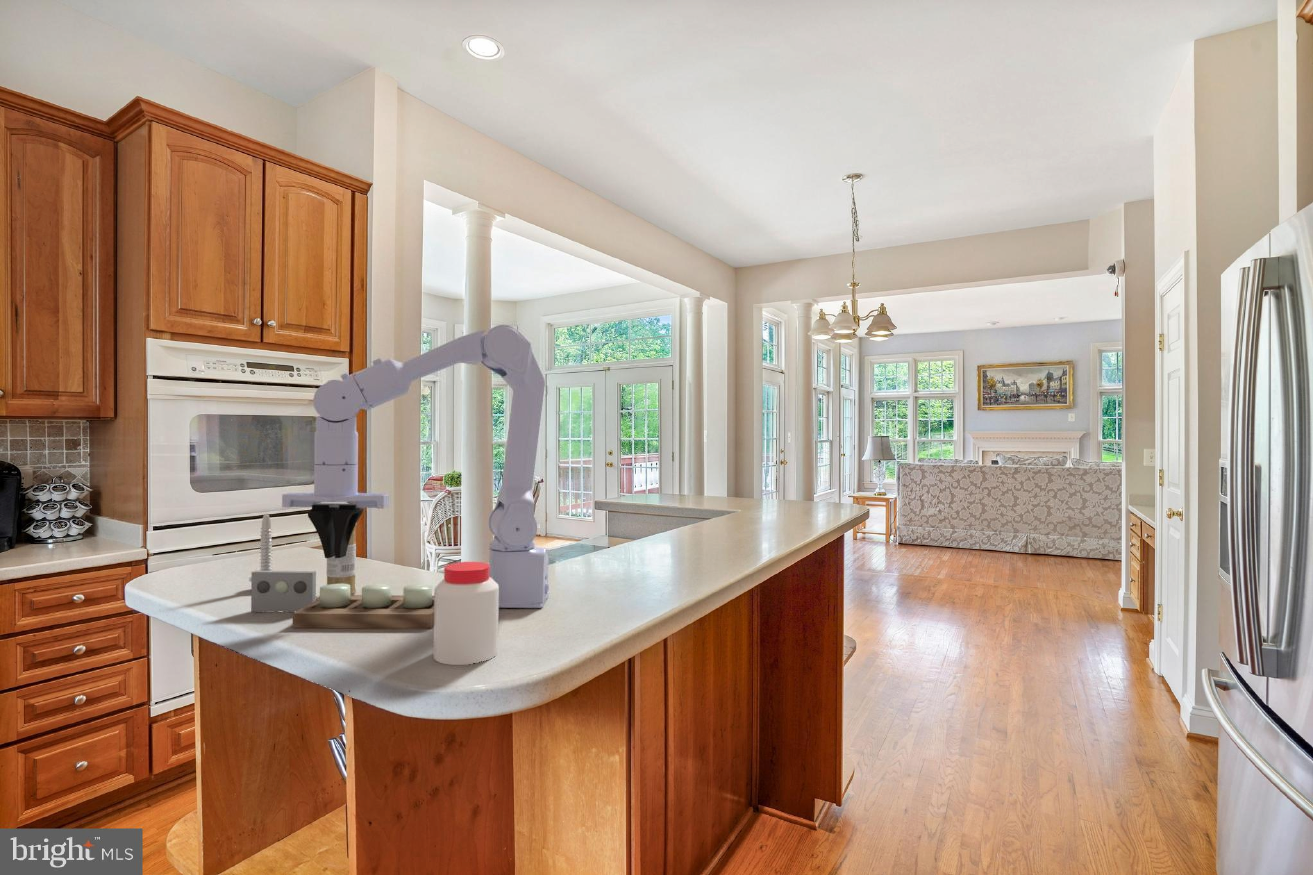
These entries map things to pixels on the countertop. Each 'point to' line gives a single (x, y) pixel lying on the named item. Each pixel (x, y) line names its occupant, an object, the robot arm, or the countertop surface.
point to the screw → (265, 545)
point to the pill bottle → (466, 614)
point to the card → (282, 590)
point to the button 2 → (417, 596)
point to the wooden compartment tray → (364, 615)
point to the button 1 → (334, 595)
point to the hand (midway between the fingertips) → (335, 556)
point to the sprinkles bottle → (343, 566)
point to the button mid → (376, 595)
